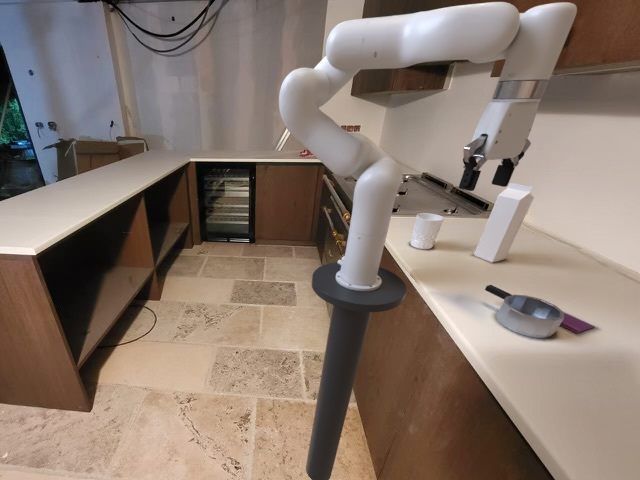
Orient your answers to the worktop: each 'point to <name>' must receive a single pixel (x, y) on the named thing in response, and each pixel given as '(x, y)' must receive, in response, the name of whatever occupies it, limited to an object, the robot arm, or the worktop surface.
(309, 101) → the robot arm
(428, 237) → the white cup
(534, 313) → the pan
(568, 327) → the purple flat block
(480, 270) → the worktop surface
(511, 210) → the milk
